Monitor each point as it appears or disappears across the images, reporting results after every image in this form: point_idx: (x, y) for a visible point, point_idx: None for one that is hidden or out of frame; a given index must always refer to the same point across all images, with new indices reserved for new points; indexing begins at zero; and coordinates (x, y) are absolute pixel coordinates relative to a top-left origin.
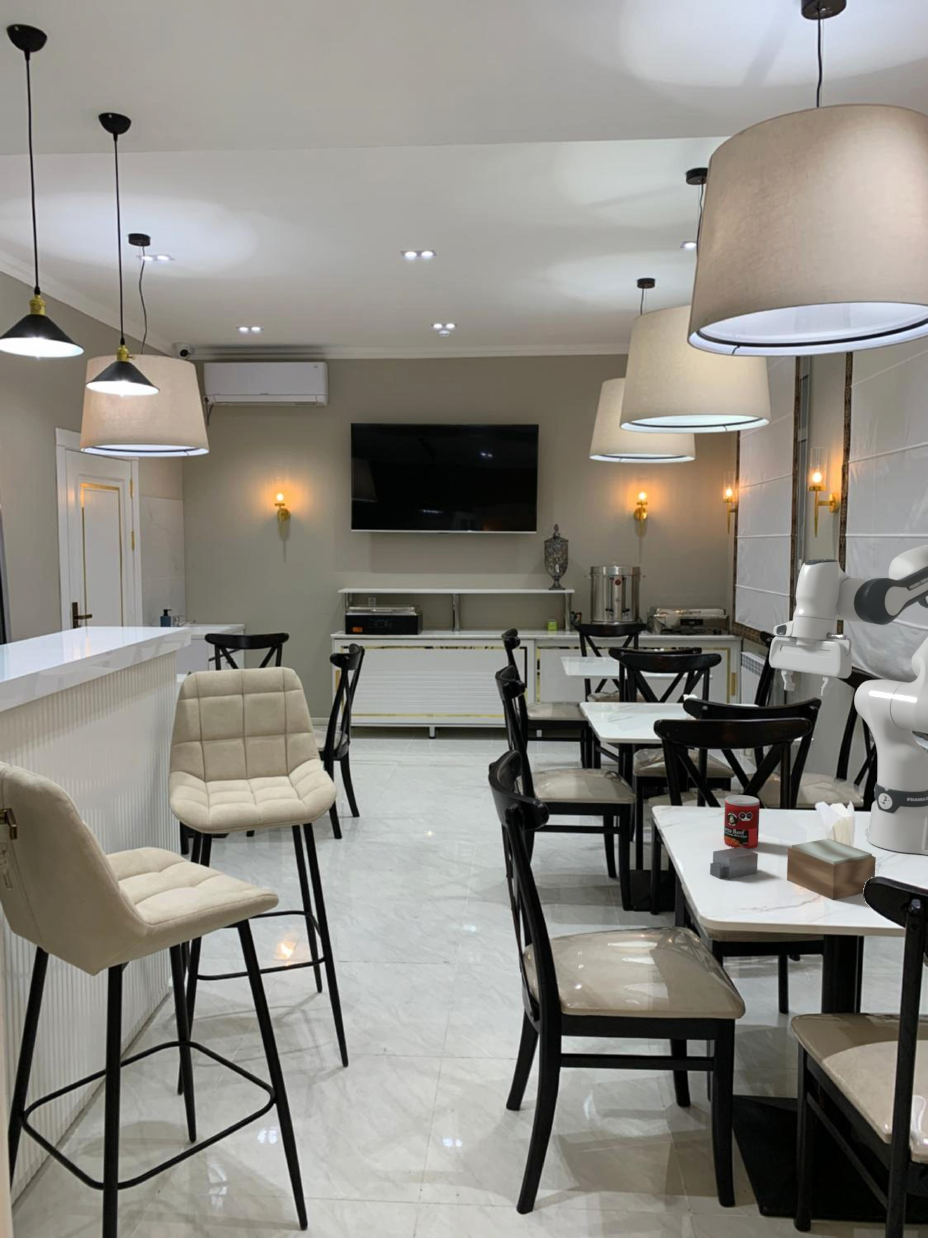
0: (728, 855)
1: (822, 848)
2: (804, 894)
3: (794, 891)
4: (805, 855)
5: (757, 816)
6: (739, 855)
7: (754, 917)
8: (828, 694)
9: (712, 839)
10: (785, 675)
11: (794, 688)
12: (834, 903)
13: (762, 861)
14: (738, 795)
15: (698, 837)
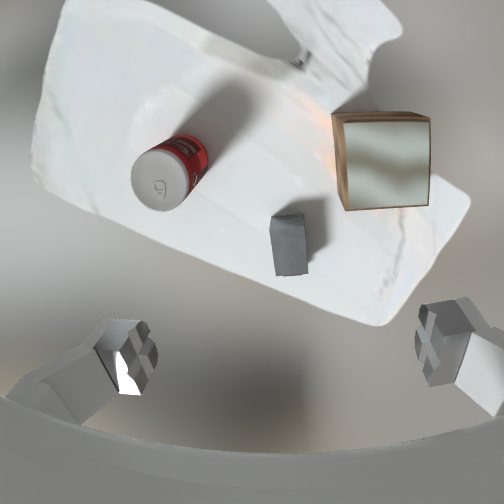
0: (296, 267)
1: (380, 175)
2: None
3: (371, 211)
4: (379, 208)
5: (190, 158)
6: (302, 255)
7: (400, 294)
8: (471, 301)
9: None
10: (74, 418)
11: (134, 326)
12: None
13: (261, 174)
14: (133, 173)
15: None
